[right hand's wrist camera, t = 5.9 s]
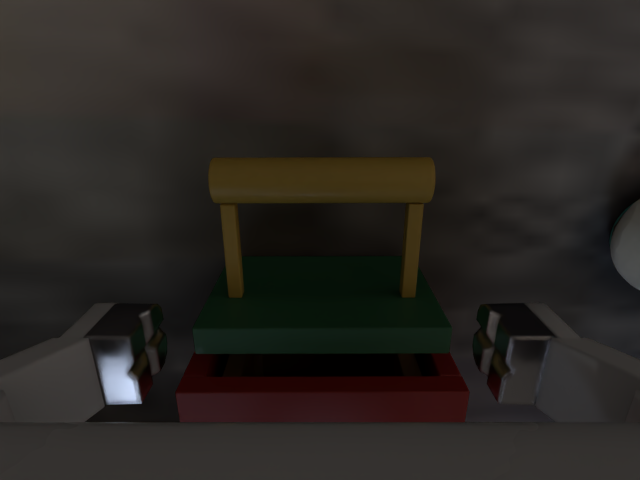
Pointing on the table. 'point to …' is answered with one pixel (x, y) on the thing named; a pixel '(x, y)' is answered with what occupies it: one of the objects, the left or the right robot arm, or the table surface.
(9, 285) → the table surface
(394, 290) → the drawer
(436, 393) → the dark red block
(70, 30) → the table surface
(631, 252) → the ballet flat
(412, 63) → the table surface
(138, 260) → the table surface
